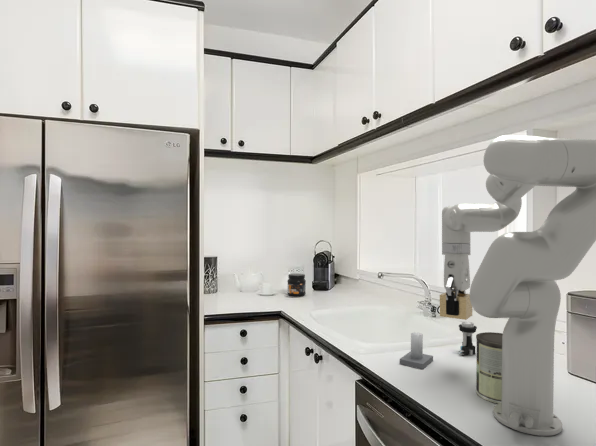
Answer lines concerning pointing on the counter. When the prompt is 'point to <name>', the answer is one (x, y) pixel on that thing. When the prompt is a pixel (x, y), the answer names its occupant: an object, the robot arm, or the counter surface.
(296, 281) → the supplement container
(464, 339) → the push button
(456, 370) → the counter surface
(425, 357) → the piston block
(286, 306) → the counter surface
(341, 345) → the counter surface
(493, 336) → the coffee can
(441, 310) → the collar
